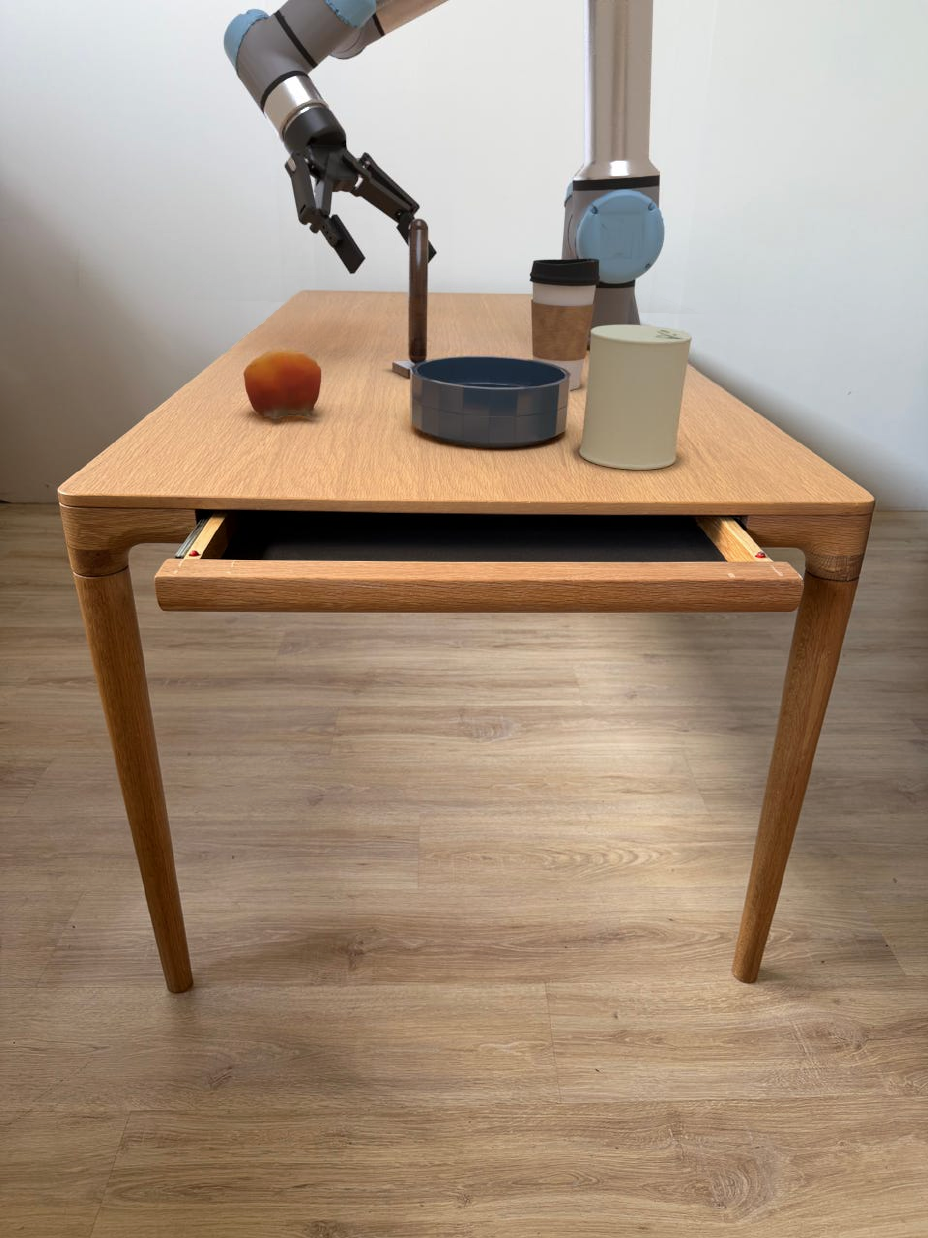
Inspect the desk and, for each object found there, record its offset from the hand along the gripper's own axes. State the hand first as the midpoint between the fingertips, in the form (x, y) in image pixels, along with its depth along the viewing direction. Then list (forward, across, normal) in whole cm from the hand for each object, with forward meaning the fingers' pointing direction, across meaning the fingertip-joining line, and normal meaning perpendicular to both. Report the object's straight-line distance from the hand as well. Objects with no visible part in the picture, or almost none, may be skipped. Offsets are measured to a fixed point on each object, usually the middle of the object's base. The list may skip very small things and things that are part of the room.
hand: (395, 263), depth 116 cm
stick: (+12, 0, -7) cm, 14 cm away
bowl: (+28, +16, +10) cm, 34 cm away
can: (+40, +15, +21) cm, 47 cm away
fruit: (+15, +27, -4) cm, 31 cm away
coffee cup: (+24, -7, +5) cm, 26 cm away
